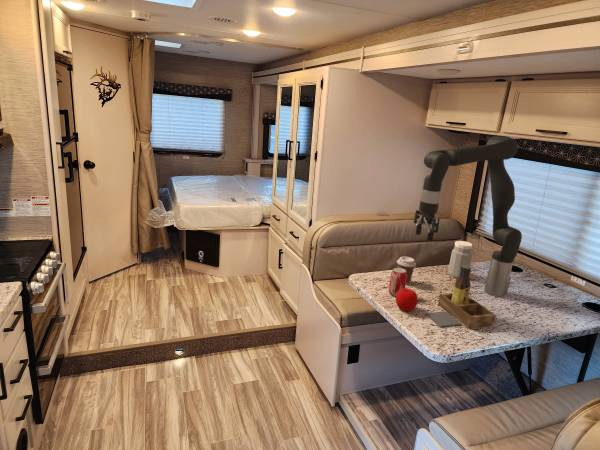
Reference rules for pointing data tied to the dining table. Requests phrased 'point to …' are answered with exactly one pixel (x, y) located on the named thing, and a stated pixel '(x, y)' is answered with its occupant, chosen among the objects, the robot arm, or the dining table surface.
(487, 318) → the caddy
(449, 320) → the coaster
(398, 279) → the soda can
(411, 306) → the fruit
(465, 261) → the jar
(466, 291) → the sauce bottle
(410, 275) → the coffee cup
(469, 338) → the dining table surface
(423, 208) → the robot arm
